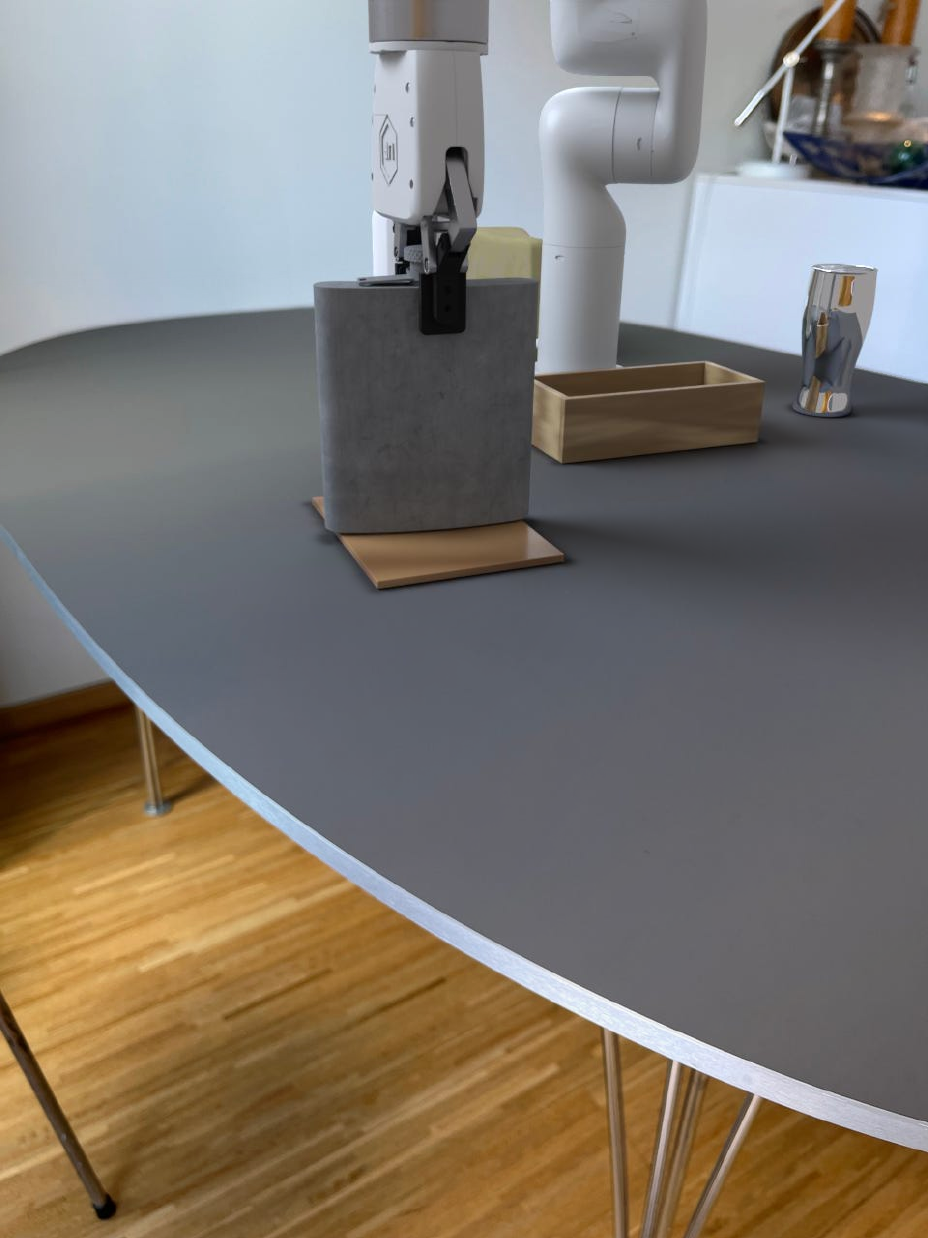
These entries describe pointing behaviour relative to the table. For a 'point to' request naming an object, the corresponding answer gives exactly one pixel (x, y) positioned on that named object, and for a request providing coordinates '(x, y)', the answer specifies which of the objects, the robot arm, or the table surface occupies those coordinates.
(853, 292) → the beer glass
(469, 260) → the cheese
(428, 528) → the hip flask
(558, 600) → the table surface
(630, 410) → the box
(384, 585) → the wooden mat
